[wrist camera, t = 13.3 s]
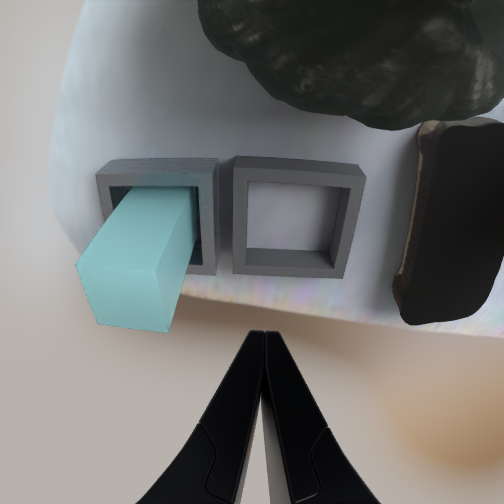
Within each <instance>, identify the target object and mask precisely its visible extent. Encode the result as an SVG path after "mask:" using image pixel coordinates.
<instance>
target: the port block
mask: <svg viewBox="0 0 504 504" xmlns="http://www.w3.org/2000/svg"><path fill="white" fill-rule="evenodd" d="M96 180H97V186H98V191H99V196H100V201H101V206H102V211H103V216H104V220H105V222H106V220H107V219H108V218H109V216H110V215H111V214H112V212H113V211H114V210H115V209H116V207H117V206H118V205H119V203H120V202H121V201H122V200H123V198H124V197H125V196H126V195H127V189H126V186H198V187H199V207H200V225H201V241H202V243H195V244H194V248H193V251H192V254H191V257H190V260H189V264H188V267H187V270H186V274H198V275H216V271H217V266H218V261H219V256H220V235H219V183H218V158H149V159H120V160H111V161H110V162H109V163H108V164H107V165H106V166H104V167H103V168H102V169H101V170H100V171H99V172H98V173H97V174H96Z"/></svg>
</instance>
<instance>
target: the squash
mask: <svg viewBox="0 0 504 504" xmlns="http://www.w3.org/2000/svg"><path fill="white" fill-rule="evenodd" d="M198 14H199V19H200V22H201V25H202V28H203V30H204V33H205V35H206V36H207V38H208V39H209V41H210V42H211V43H212V45H213V46H214V47H215V48H216V49H217V50H219V51H221V52H222V53H224V54H226V55H227V56H229V57H231V58H234V59H236V60H239V61H243V62H245V64H246V65H247V67H248V69H249V71H250V73H251V74H252V75H253V76H254V77H255V79H256V80H257V81H258V82H259V83H260V84H261V85H262V86H263V88H264V89H265V90H266V91H267V92H268V93H269V94H270V95H271V96H272V97H274V98H275V99H278V100H281V101H284V102H286V103H288V104H289V105H291V106H293V107H295V108H297V109H300V110H303V111H308V112H314V113H322V114H328V115H340V116H344V115H346V116H348V117H350V118H352V119H355V120H357V121H359V122H361V123H363V124H364V125H366V126H367V127H371V128H376V129H383V130H390V131H395V130H402V129H406V128H410V127H413V126H415V125H417V124H419V123H422V122H427V121H432V120H434V121H462V120H467V119H469V118H471V117H474V116H476V115H480V114H485V113H487V112H489V111H491V110H492V109H493V108H494V107H496V106H497V105H498V104H499V103H500V101H501V100H502V99H503V98H504V0H198Z"/></svg>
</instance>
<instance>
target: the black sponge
mask: <svg viewBox="0 0 504 504" xmlns="http://www.w3.org/2000/svg"><path fill="white" fill-rule="evenodd" d="M418 143H419V149H420V151H419V161H418V173H417V180H416V188H415V195H414V202H413V209H412V216H411V220H410V226H409V232H408V234H407V240H406V246H405V249H404V256H403V261H402V266H401V267H400V269H399V271H398V272H397V274H396V275H395V278H394V282H393V286H392V289H393V295H394V298H395V300H396V303H397V305H398V307H399V310H400V315H401V317H402V319H403V320H404V321H405V323H407V324H409V325H422V324H428V323H433V322H447V321H453V320H458V319H462V318H465V317H469V316H471V315H473V314H474V313H475V312H477V311H478V310H479V309H480V308H481V306H482V305H483V304H484V303H485V301H486V300H487V298H488V296H489V294H490V292H491V289H492V287H493V284H494V281H495V278H496V276H497V274H498V272H499V269H500V267H501V263H502V260H503V257H504V123H502V122H499V121H497V120H494V119H490V118H484V117H471V118H469V119H467V120H462V121H434V120H432V121H427V122H424V123H423V125H422V126H421V127H420V129H419V132H418Z"/></svg>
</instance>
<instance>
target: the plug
mask: <svg viewBox="0 0 504 504" xmlns="http://www.w3.org/2000/svg"><path fill="white" fill-rule="evenodd" d="M197 235H198V230H197V213H196V195H195V186H133V187H132V188H131V190H130V191H129V192H128V193H127V195H126V196H125V197H124V198H123V200H122V201H121V202H120V203H119V205H118V206H117V207H116V209H115V210H114V211H113V212H112V214H111V215H110V216H109V218H108V219H107V220H106V222H105V223H104V224H103V226H102V227H101V228H100V230H99V231H98V233H97V234H96V235H95V237H94V238H93V240H92V241H91V242H90V244H89V245H88V247H87V248H86V249H85V251H84V252H83V254H82V255H81V257H80V258H79V260H78V261H77V263H76V264H75V266H76V268H77V271H78V274H79V277H80V280H81V282H82V285H83V288H84V291H85V293H86V296H87V298H88V301H89V304H90V306H91V309H92V311H93V314H94V316H95V319H96V321H97V323H98V324H100V325H108V326H115V327H122V328H130V329H137V330H146V331H155V332H164V333H168V332H169V329H170V325H171V321H172V318H173V315H174V311H175V308H176V304H177V301H178V297H179V294H180V290H181V287H182V284H183V280H184V277H185V274H186V270H187V267H188V264H189V260H190V257H191V254H192V251H193V248H194V244H195V241H196V238H197Z"/></svg>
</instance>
